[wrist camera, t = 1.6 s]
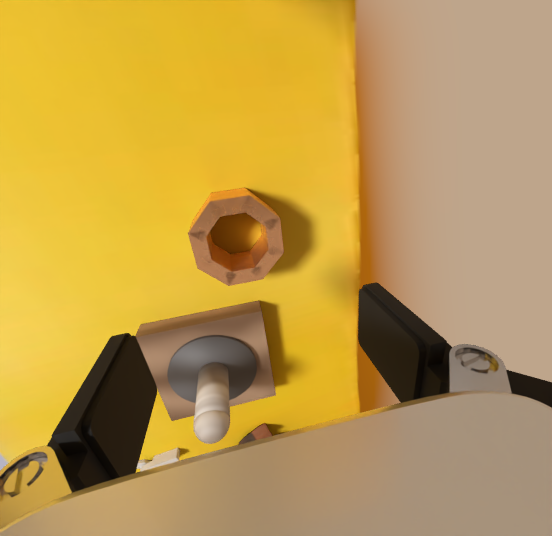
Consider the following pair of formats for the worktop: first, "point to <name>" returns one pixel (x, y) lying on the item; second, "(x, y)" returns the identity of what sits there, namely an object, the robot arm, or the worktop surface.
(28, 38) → the worktop surface
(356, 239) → the worktop surface
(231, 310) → the shaft block
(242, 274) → the ring
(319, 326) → the worktop surface
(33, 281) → the worktop surface
